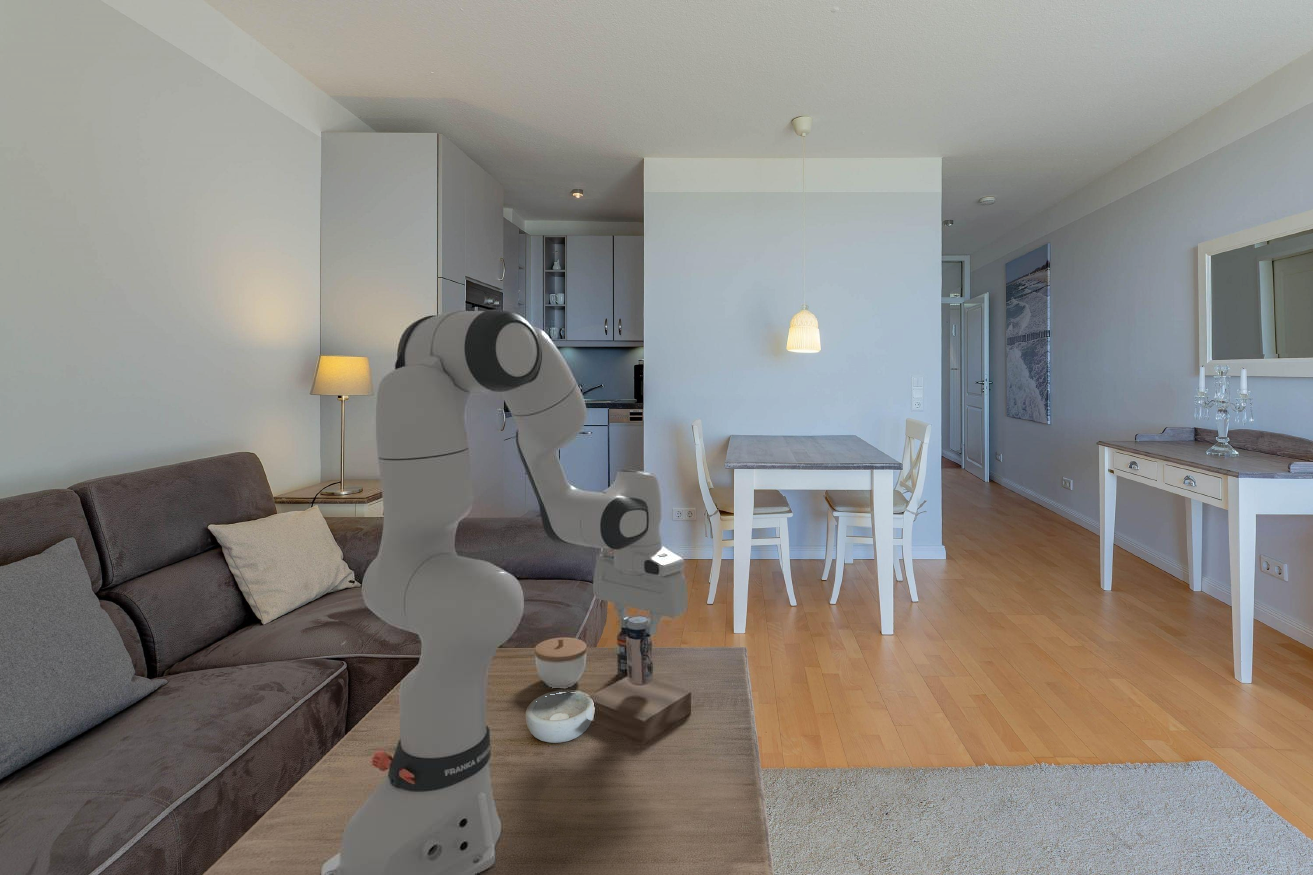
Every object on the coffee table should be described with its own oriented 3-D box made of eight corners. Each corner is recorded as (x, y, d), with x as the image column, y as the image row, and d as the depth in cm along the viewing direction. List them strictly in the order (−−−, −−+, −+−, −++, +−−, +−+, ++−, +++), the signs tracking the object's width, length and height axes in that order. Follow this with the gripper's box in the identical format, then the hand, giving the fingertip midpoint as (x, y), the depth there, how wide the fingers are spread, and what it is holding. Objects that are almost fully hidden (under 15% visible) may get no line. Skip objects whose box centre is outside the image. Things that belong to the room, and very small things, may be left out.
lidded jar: (529, 677, 139) (528, 634, 139) (577, 668, 144) (577, 626, 143) (542, 698, 130) (542, 652, 129) (594, 688, 134) (593, 643, 134)
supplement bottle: (646, 669, 143) (646, 618, 143) (643, 680, 137) (643, 628, 137) (619, 668, 144) (619, 617, 143) (615, 679, 138) (614, 627, 137)
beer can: (651, 687, 120) (648, 624, 118) (625, 686, 120) (622, 623, 119) (655, 675, 124) (653, 614, 123) (630, 674, 125) (628, 613, 124)
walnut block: (644, 743, 113) (644, 720, 112) (585, 718, 121) (585, 698, 121) (691, 712, 124) (691, 691, 123) (634, 691, 132) (634, 672, 132)
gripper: (585, 551, 124) (586, 623, 125) (671, 568, 112) (671, 647, 113) (607, 545, 129) (608, 614, 130) (692, 561, 117) (692, 637, 118)
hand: (638, 630), depth 121 cm, fingers closed on beer can, 5 cm apart
